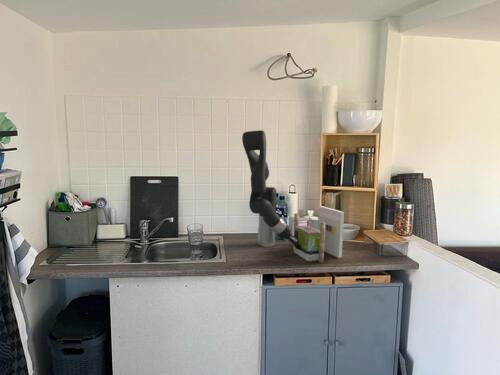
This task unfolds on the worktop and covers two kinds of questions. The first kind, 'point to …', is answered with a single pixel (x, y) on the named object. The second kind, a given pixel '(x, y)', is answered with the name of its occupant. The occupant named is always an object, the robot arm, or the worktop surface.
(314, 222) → the skincare box
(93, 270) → the worktop surface
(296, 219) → the left post
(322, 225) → the right post
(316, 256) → the tea box
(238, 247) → the worktop surface
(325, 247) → the breaker panel
